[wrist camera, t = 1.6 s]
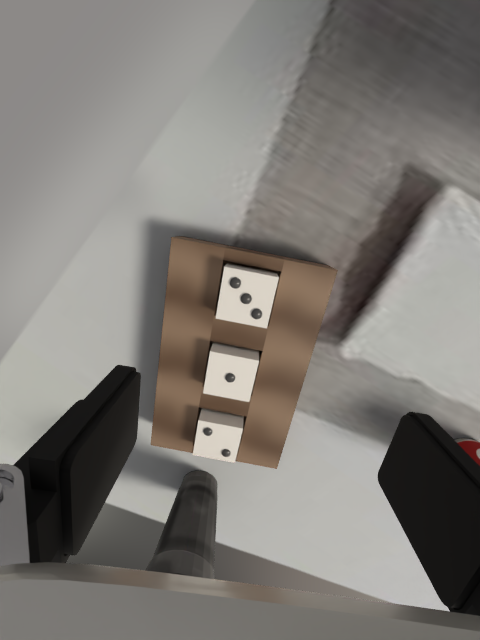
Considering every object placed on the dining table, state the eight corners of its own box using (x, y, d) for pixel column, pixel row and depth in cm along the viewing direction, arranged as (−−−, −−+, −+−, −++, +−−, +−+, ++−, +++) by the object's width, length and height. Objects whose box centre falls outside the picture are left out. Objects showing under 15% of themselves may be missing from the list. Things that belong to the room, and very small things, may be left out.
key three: (227, 262, 24) (224, 266, 21) (276, 272, 24) (279, 277, 21) (219, 309, 25) (215, 318, 23) (265, 319, 25) (266, 328, 23)
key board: (180, 236, 25) (171, 237, 22) (328, 265, 25) (337, 270, 22) (159, 425, 32) (150, 445, 29) (274, 447, 32) (276, 468, 30)
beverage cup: (190, 510, 37) (121, 813, 18) (161, 473, 35) (49, 767, 16) (238, 494, 35) (218, 804, 16) (210, 454, 33) (153, 753, 14)
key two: (203, 404, 29) (198, 420, 26) (243, 412, 29) (242, 429, 26) (197, 436, 30) (192, 455, 28) (236, 444, 30) (234, 463, 28)
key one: (214, 340, 26) (209, 351, 24) (258, 348, 26) (259, 361, 24) (207, 379, 28) (202, 393, 25) (249, 387, 28) (249, 402, 25)
